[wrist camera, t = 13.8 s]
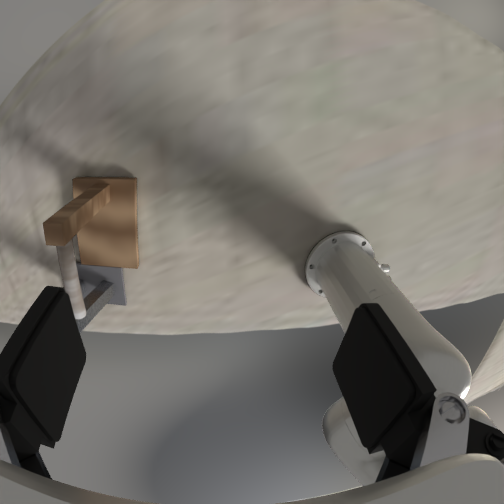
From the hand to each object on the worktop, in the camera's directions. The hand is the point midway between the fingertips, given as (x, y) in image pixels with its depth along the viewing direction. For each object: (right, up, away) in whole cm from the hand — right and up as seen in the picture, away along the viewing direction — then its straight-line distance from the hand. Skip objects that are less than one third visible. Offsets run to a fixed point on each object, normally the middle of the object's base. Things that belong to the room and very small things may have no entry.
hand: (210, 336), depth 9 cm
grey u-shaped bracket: (-25, -3, +36) cm, 44 cm away
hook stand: (-21, +7, +31) cm, 38 cm away
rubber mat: (-26, -3, +36) cm, 44 cm away
